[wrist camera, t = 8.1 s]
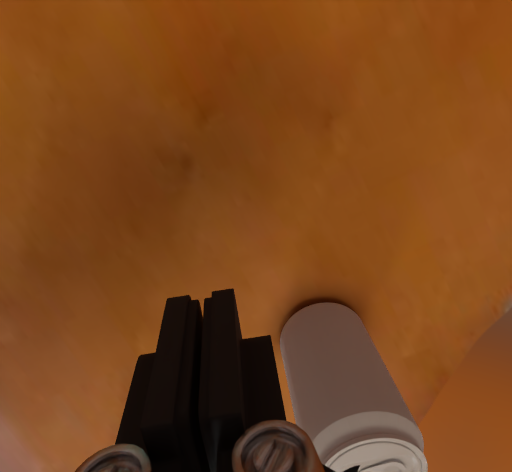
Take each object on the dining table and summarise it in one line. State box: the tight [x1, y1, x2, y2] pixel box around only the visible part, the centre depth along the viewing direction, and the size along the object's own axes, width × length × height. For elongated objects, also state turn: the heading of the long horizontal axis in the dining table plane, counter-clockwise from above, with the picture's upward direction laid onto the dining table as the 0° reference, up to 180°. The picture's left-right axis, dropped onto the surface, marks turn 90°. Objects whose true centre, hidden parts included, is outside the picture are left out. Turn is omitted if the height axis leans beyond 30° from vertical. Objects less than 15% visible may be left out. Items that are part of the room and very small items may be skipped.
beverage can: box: [280, 302, 427, 472], centre depth 26 cm, size 6×6×12 cm
